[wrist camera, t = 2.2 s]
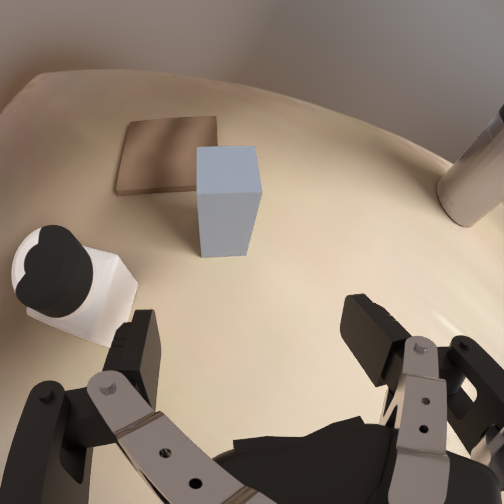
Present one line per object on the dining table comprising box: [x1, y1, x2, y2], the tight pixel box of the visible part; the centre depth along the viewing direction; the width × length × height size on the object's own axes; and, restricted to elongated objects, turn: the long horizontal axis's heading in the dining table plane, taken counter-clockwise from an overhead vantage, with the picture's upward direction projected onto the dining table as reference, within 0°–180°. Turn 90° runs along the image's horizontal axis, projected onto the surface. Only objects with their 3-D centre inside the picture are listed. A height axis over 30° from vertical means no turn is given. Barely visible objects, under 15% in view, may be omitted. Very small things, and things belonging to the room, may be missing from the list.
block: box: [197, 146, 262, 258], centre depth 26 cm, size 4×4×11 cm
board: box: [116, 116, 218, 196], centre depth 34 cm, size 12×12×1 cm
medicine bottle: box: [11, 225, 138, 348], centre depth 20 cm, size 7×7×12 cm
